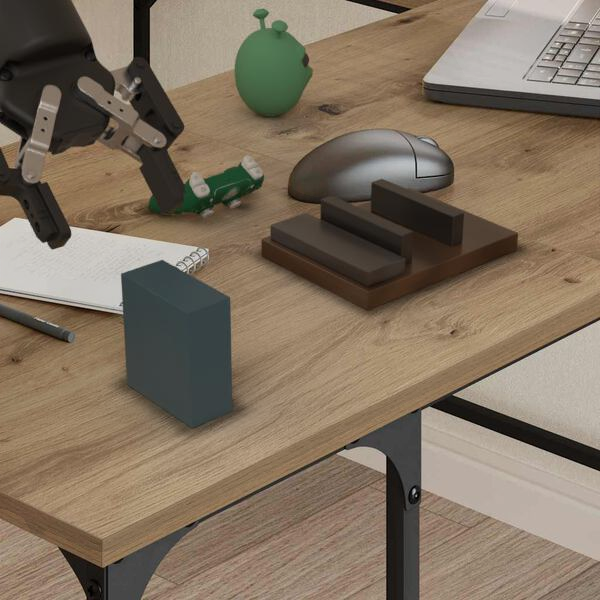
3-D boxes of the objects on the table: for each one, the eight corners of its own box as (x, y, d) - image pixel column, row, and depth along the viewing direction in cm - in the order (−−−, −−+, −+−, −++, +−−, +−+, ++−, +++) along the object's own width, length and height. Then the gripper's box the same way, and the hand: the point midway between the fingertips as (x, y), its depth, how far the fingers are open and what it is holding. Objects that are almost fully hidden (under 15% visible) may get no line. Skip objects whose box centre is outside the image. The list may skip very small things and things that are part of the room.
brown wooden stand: (367, 310, 101) (369, 260, 99) (261, 256, 109) (260, 208, 107) (517, 250, 110) (521, 202, 109) (408, 204, 118) (410, 159, 117)
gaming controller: (162, 241, 116) (194, 209, 111) (141, 201, 116) (172, 167, 111) (248, 211, 121) (281, 180, 117) (227, 173, 122) (260, 140, 117)
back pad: (191, 428, 87) (187, 313, 83) (126, 384, 91) (120, 273, 88) (232, 411, 89) (230, 297, 85) (167, 368, 93) (162, 259, 90)
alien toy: (325, 118, 137) (326, 17, 133) (253, 130, 134) (252, 27, 130) (293, 97, 143) (293, -1, 138) (223, 108, 140) (221, 9, 135)
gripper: (-75, -5, 85) (42, 230, 82) (123, -41, 93) (234, 171, 91) (-104, 60, 91) (3, 281, 88) (83, 21, 99) (187, 221, 96)
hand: (120, 225), depth 89 cm, fingers open, 8 cm apart
